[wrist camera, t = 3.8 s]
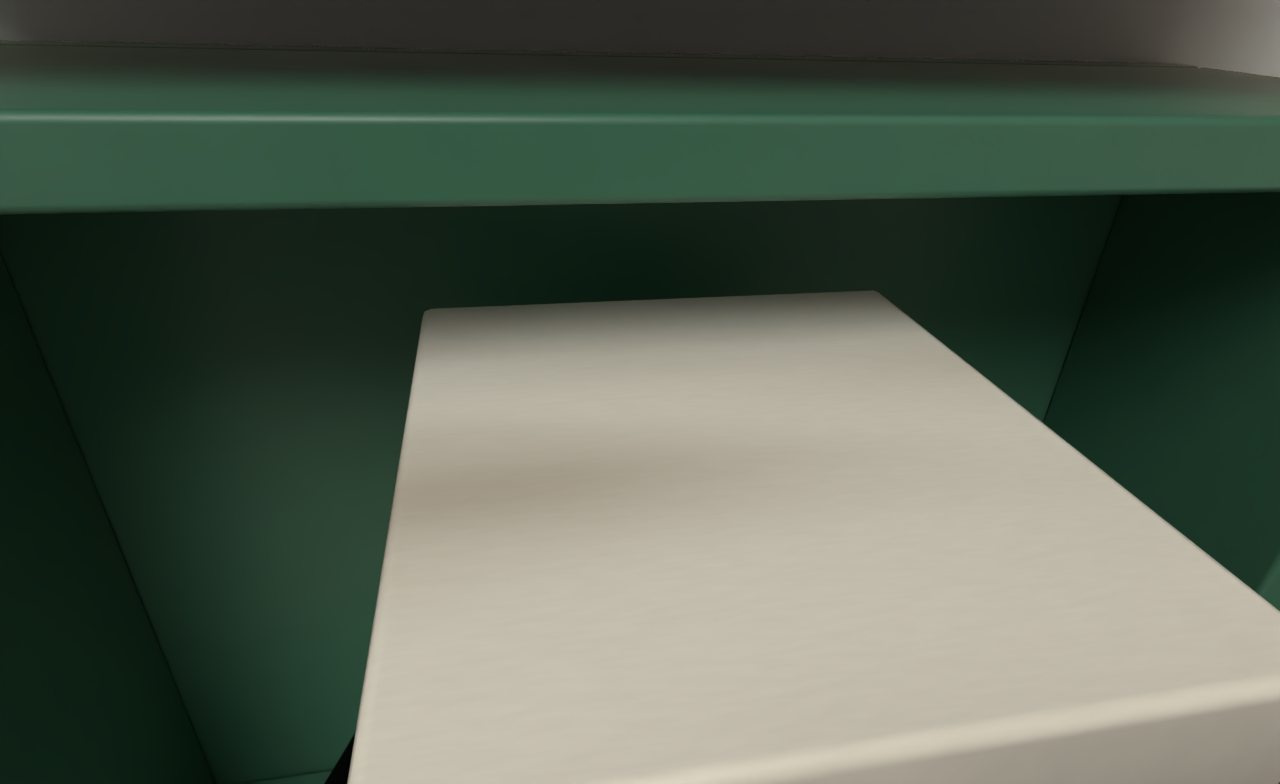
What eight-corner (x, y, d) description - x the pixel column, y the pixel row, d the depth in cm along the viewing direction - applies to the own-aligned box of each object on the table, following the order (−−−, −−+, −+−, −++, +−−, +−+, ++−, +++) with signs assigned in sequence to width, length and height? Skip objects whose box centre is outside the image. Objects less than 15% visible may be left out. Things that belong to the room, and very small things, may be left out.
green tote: (957, 672, 16) (1108, 892, 12) (198, 784, 13) (85, 1112, 9) (1174, 62, 10) (1602, 119, 6) (-118, 36, 7) (-769, 107, 4)
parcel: (785, 748, 12) (972, 1219, 7) (478, 798, 11) (477, 1365, 7) (879, 284, 8) (1393, 682, 4) (416, 303, 7) (314, 861, 3)
